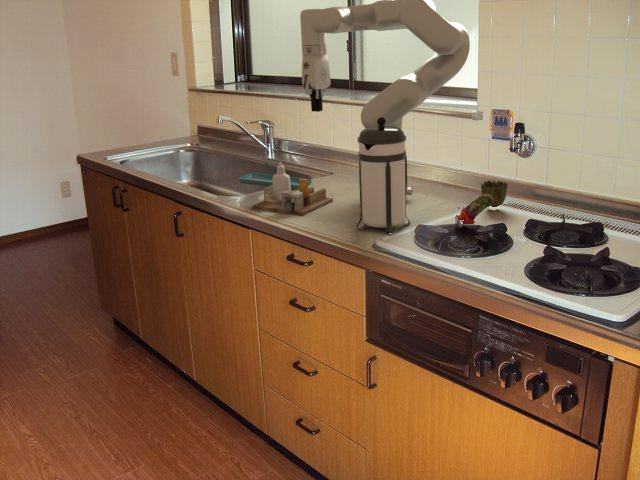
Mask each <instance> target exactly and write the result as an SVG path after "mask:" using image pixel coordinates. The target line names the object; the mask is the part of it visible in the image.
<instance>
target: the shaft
mask: <svg viewBox="0 0 640 480" xmlns="http://www.w3.org/2000/svg"><path fill="white" fill-rule="evenodd" d="M308 179H309V178H302V179H299V188H300V189H299V192H303V206H304V205H306V204H307V195H309V194H308V188H309V185H308ZM293 210H295V207H294V198H293V199H291V200H289V201H286V202H284V211H293Z"/></svg>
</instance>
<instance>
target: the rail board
mask: <svg viewBox="0 0 640 480" xmlns="http://www.w3.org/2000/svg"><path fill="white" fill-rule="evenodd" d="M308 194H309V195H307V204H306V205H304V206H303V192H300V191H295V190H291V191H285V192H283V193H282V196H274V191H273V185H272V186H266V187H264V188H263V200H262V201H260V202H257V203H255V204H253V205H251V208H252V209H253V210H260V211H268V212H274V213H275V212H276V213H283V214H289V215H298V216H305V215H308V214H310V213H312V212H314V211H316V210H318V209H320V208H321V207H324V206H326V205H328V204H331V203H332V202H334V198H333V197H327V189H326V188H320V189H318V190H316V191H315V187H313V186H311V187H308ZM293 198H294V207H295V210H293V211H284V202H286V201H289V200H291V199H293Z"/></svg>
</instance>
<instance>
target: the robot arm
mask: <svg viewBox="0 0 640 480" xmlns="http://www.w3.org/2000/svg"><path fill="white" fill-rule="evenodd" d="M299 19H300V37H301V54H302V59H301V60H302V61H301V83H302V88H303V89H304V91H305V95H306V94H307V95H309V99H310V105H311V112H317V113H319V112H322V111H323V97H324V92H325V91H327V88H329V87H330V86H331V84H332V83H331V71H330V62H329V57H328V54H327V38H326V37H327V34H331V35H332V34H333V35H334V34H341V33H343V34H344V33H352V32H360V31H377V32H385V31H394V30H408V31H410V32H411V33H412V34H413V35H414V36H415V37H416V38H418V39H419V40H420V41H421V42H422V43H424V44H425V46H427V47H428V48H429V49H430V50H432V51H433V52H435V54H434V55H433V56H432V57H430V58H429V59H428V60H426V61H425V62H424V63H423V64H422V65H420V66H419V67H418V68H416V70H414V71H413V72H411V73H410V74H407V75H404V76H401V77H400V78H398V79H396V80H394V81H393V82H392V83H391V84H389V85H388V86H387V87H386V88H384V89H383V90H382V91H380V92H379V93H378V94H377V95H376V96H374V97H373V98H371V99H370V100H369V101H367V103H365V104H364V106H363V108H362V109H361V113H360V120H361V121H360V122H361V125H362V126H363V127H364V129H366V128H368V127H373V126H380V125H378V123H377V120H378V118H380V117H383V118H385V120H386V122H385V124H384V126H394V127H398V128H400V129H401V130H402V131H403V129H402V128H403V118H404V116H406V115H407V114H408V113H410V112H412V111H413V110H414V109H416V108H417V107H419V106H420V105H422V104H423V103H424V102H425V101H426V100H427V99H428V98H430V97H431V96H432V95H433V94H434V93H436V92H438V90H439V89H441V88H442V87H443V86H444V85H446V84H447V83H448V82H450V80H453V78H454V77H456V75H457V74H458V73H459V72H460V71H461V70H462V68H463V67H464V65H465V64H466V61H467V60H468V57H469V54H470V50H471V49H470V48H471V45H470V43H471V42H470V36H469V33H468V30H467V29H466V27H465V26H463V24H461V23H459V22H454V21H451V22H450V21H448V20H447V19H446V18H444V17H443V16H442V15H441V14H440V13H438V12H437V11H436V5H435V4H434V2H433V1H432V0H378V1H377V0H376V1H375V2H373V3H367V4H361V5H351V6H333V7H327V8H326V7H325V8H310V9H309V8H307V9H303V10H301V12H300V16H299ZM413 194H414V193H413V187H407V191H406V196H413Z"/></svg>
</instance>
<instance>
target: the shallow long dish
mask: <svg viewBox="0 0 640 480" xmlns="http://www.w3.org/2000/svg"><path fill="white" fill-rule="evenodd" d="M274 175H275V174H273V175H272V174H265V173H256V172H251V173H248V174H245V175H243V176H241V177H237V180H238V181H239V182H240V184H243V185H252V186H253V185H254V186H262V187H269V186H272V185H273V176H274ZM299 179H303V178H301V177H292V176H291V177H290V183H291V190H300V188H299ZM307 179H308V186H309V185H311V183H312V181H313V179H309V178H307Z"/></svg>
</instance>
